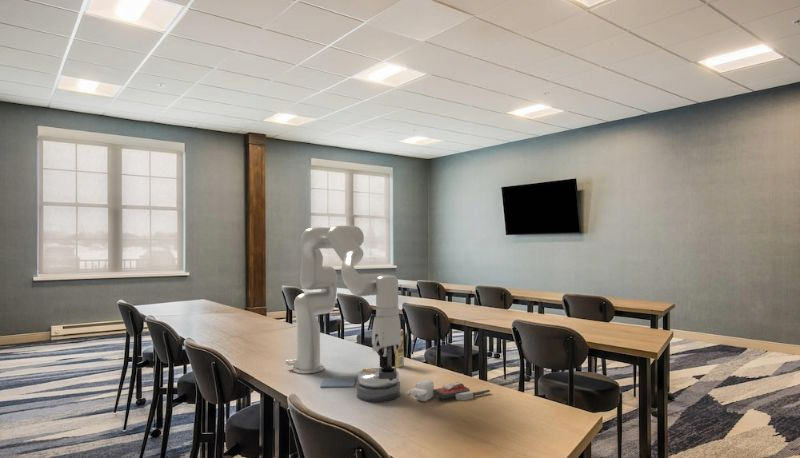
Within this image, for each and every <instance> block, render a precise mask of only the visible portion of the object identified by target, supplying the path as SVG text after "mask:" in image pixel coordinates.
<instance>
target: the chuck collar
mask: <svg viewBox="0 0 800 458" xmlns="http://www.w3.org/2000/svg"><path fill="white" fill-rule="evenodd" d="M399 373H400V372H399V371H398V370H397V367H392V372H383V368H381V367H375V368H374V367H371V368H363V369H362V370H360V371H359V372H358V373H357V382H358V385H360V386H361V387H364V388H370V389H384V388H390V387H394V386H396V385H397V384H398V383H399V382H400V378H399V377H400V376H399V375H400V374H399Z"/></svg>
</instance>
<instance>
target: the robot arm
mask: <svg viewBox="0 0 800 458" xmlns="http://www.w3.org/2000/svg"><path fill="white" fill-rule="evenodd" d="M364 235H365V234H364V233H363V231H362V229H361V228H360V227H359V226H357V225H335V226H332V227H322V226H321V227H320V226H319V227H315V226H314V227H309V228H306V229H305V230H304V231H303V233H302V234H301V237H300V251H301V263H300V264H301V265H300V275H299V277H300V278H299V283H300V287H301V288H302V289H304V290H306V291H307V292H303V293H300V294H298V295H296V297H295V299H294V301H293V302H294V303H293V308H294V313H295V318H296V319H295V320H296V323H295V324H296V358H294V359H286V361H285V364H286V365H287V366H293V367H292V371H293V372H294V373H296V374H307V375H308V374H314V373H319V372H321V371H324V370H325V366H324V364H322V363H321V325H320V322H319V320H318V319H317V317H316V316H318V315H324V314H330V313H332V312H333V311H334V309H335V307H336V303H337V289H338V279H339V278H338V273H337V271H336V269H335V268H334V267H333V266H330V265H323V264H324V263H323V261H324V256H323V253H322V251H321V250H322V249H325V250H326V249H333V251H335V253H336V254H337V256H338V258H339V259H340V261H341V262H342V264H341V267H340V268H341V272H340V273H341V278H342V281H343V284H344V285H345V287H346V288H347V290H349V292H350V293H351V294H352V295H354V296H355V297H358V298H359V297H360V298H361V297H369V296H376V297H375V306H376V307H375V311H376V313H375V316H374V318H373V323H372V331H371V332H372V333H371V345H372V348H371V349H372V351H373V352H376V354H377V355H378V356H379V368H385V369H387V368H388V357H387V356H386V352H387V347H389V346H392V367H394V366H395V354H396V353H397V349H398V347H399V346H400V345H401V344H402V342H401V329H402V327H401V326H402V325H401V320H400V315H399V310H400V308H399V279H398V277H397V276H396V275H389V274H387V275H386V274H382V273H365V274H362V273H361V274H360V273H358V271H357V270H356V268H355V266H357V265H358V263H360V261H361V260H362V259H363V258H364V250H363V249H362V247H361V246H362V245H363V244H364V240H365V236H364ZM313 290H315V291H313ZM316 290H320V291H316ZM308 291H310V292H308Z"/></svg>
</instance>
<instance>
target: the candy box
mask: <svg viewBox="0 0 800 458" xmlns="http://www.w3.org/2000/svg"><path fill="white" fill-rule="evenodd" d="M401 342H402V344H401V345H400V346H399V347H398V349H397V353H396V354H395V366H393V368H401V367H403V366H405V362H404V361H405V358H404V357H405V354H404V353H405V352H404V329H402V328H401Z"/></svg>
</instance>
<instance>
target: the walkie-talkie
mask: <svg viewBox="0 0 800 458" xmlns="http://www.w3.org/2000/svg"><path fill="white" fill-rule="evenodd" d="M490 392H491V390H490V389H485V390H481V391H480V390H479V391H473V392H472V391H470V388H469V387H467V386H465V384H464V383H461V382H459V381H457V382H451V383H449V384H448V385H447V386H446V385H442V387H440V388H434V396H433V398H435V399H437V400H438V401H440V402H448V401H449V402H450V401H454V400H457V401H466V400H471V399H474V397H476V396H481V395H484V394H487V393H490Z"/></svg>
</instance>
